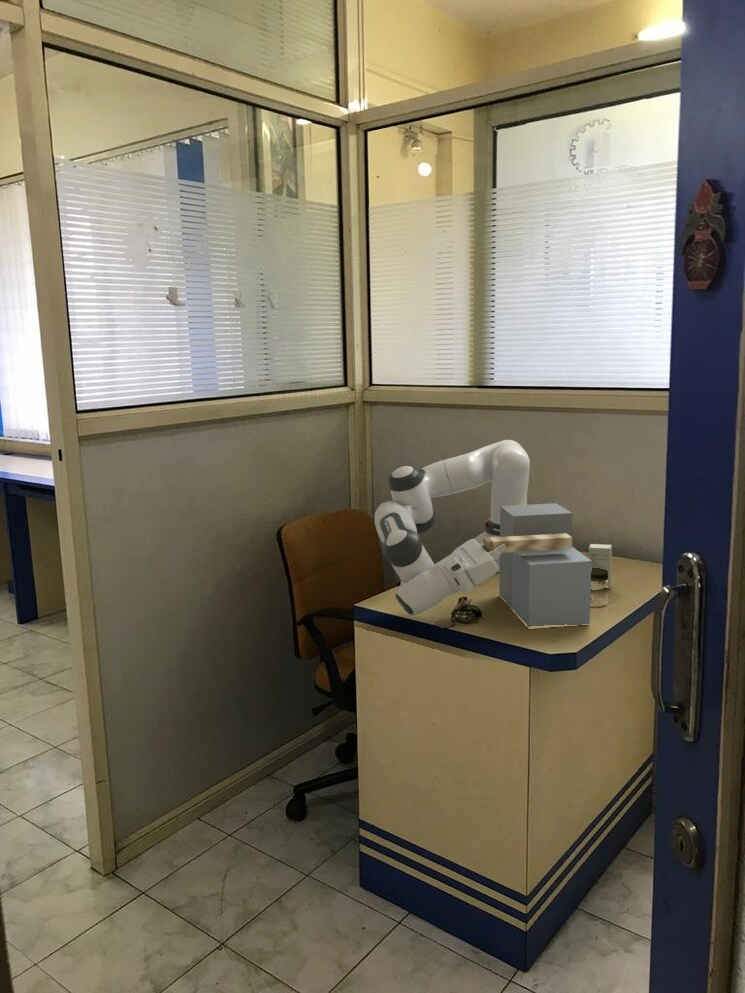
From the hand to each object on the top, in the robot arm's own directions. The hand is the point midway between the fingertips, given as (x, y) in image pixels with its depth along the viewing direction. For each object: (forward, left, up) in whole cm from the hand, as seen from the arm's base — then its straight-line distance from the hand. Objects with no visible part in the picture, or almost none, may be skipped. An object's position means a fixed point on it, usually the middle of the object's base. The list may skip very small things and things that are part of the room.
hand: (501, 543), depth 208 cm
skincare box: (+20, +37, -21) cm, 47 cm away
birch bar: (+6, +3, -2) cm, 7 cm away
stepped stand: (+8, +12, -21) cm, 26 cm away
